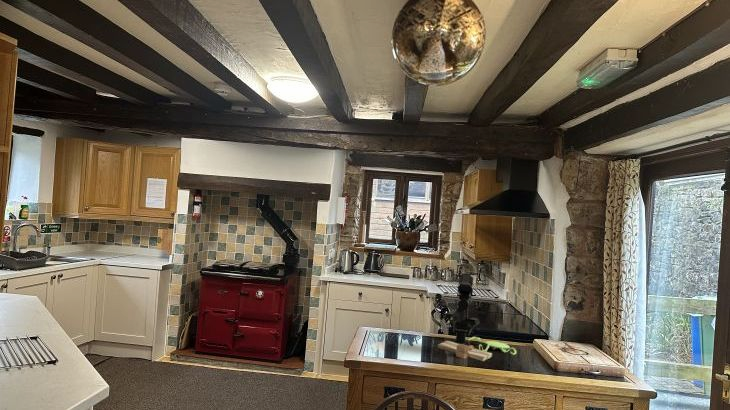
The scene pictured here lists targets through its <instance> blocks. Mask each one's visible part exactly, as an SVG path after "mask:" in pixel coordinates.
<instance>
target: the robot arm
mask: <svg viewBox="0 0 730 410" xmlns="http://www.w3.org/2000/svg"><path fill="white" fill-rule="evenodd" d="M473 286H474V278H473V277H472V276H471V274H470V273H462V274H461V275H459V278H458V286H457V293H456V297H458V302H457V307H456V310H455V311H454V312H452V311H449V312H446V313H445V315H444V318H445V319H446V320H447V321H448V322H449V324H450V327H451V331H452V333H454V332H456V334H455V339H453V341H454V342H456V343H457V342H458V343H459V344H460V343H461V344H464V343H467V342H468V339H466V337H469V336H470V335H471V333H472V331H473V329H474V327H476V326H478V325H479V324H480V319H479V318H476V317H471V318H469V315H468V314H469V311H470V308H469V306H470V304H469V303H470V299H472V297H473V290H474V289H473Z"/></svg>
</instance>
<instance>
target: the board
mask: <svg viewBox="0 0 730 410" xmlns="http://www.w3.org/2000/svg"><path fill="white" fill-rule="evenodd" d="M457 345H460V343H457V342H455V341H454V342H453V341H450V340H446V341H443V342H441V343H438V344H437V349H441V350H443V351H447V352H450V353H453V354H456V350H457ZM492 357H493V353H492V352H488V351H482V349H479V348H475V347H474V348H473V349H470V350H469V354H468V357H467V358H470V359H473V360H474V359H475V360H477V361H480V362H485V361H486V360H488V359H491V358H492Z"/></svg>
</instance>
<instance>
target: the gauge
mask: <svg viewBox="0 0 730 410" xmlns="http://www.w3.org/2000/svg"><path fill="white" fill-rule="evenodd" d="M459 344H460V343H459ZM473 348H475V346H474V345H466V344H464V343H461V344H460V345H457V350H456V353H455V357H457V358H460V359H463V360H465V359H467V358H469V357H468V354H469V350H470V349H473Z"/></svg>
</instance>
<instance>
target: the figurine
mask: <svg viewBox="0 0 730 410" xmlns="http://www.w3.org/2000/svg"><path fill="white" fill-rule="evenodd" d="M473 339H474V340H476V341H477V342H479V343H483V344H486V347H485V349H484V348H483V345H482V344H478V349H479V350H482V351H486V352H488V349H489V348H490V347H492V350H496V349H499V350H500V351H501V352H503V353H508V352H509V353H510V355H512V356H515V354H517V350H516V348H514V347H510V345H508V344H506V343H504V342H502V341H495V340H487V341H485V340H482V339H481V338H480V337H477V336H472V337H470V338H468V339H467V342H469V341H472V340H473ZM511 350H513V351H511Z"/></svg>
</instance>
